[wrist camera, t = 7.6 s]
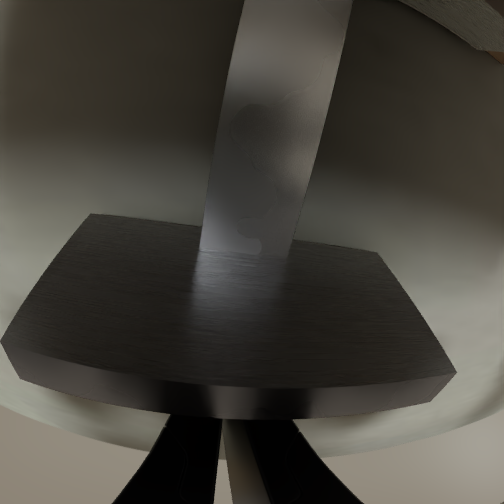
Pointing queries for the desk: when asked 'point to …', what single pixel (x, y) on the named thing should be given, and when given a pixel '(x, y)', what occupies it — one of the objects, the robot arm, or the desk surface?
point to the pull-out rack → (244, 262)
